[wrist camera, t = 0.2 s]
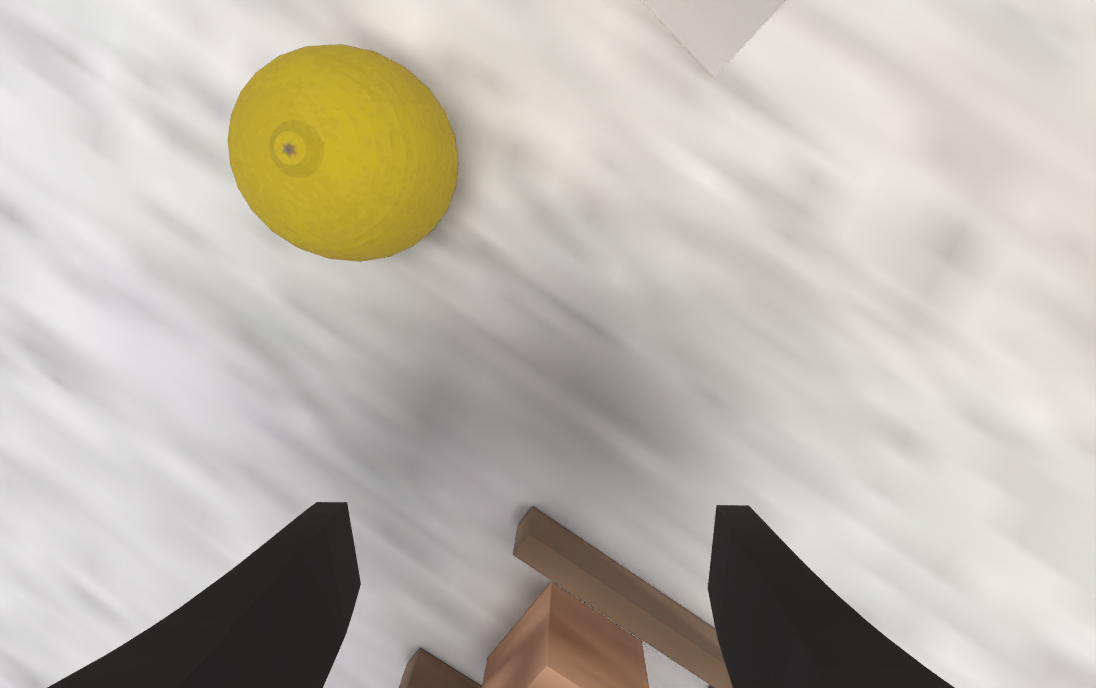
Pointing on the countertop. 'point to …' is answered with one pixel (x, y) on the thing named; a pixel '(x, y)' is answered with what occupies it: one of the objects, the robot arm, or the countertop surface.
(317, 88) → the lemon
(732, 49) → the milk
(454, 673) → the channel
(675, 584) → the countertop surface
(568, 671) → the block
